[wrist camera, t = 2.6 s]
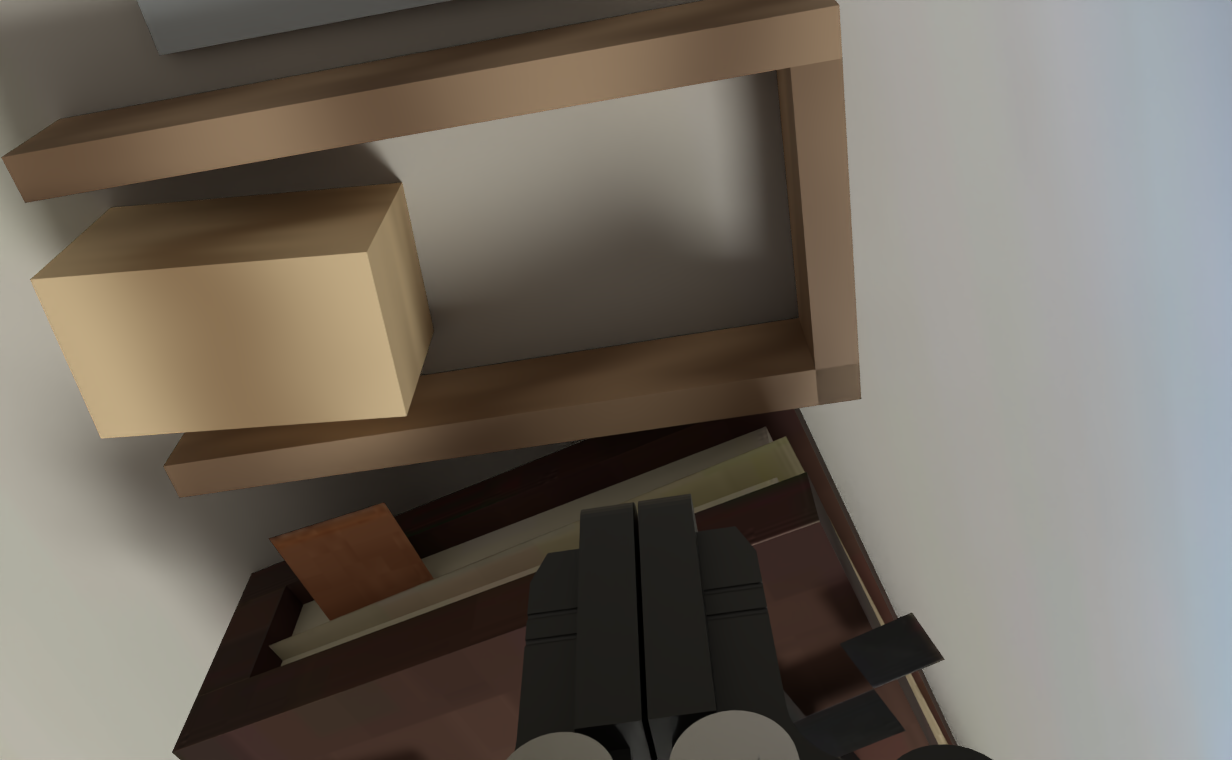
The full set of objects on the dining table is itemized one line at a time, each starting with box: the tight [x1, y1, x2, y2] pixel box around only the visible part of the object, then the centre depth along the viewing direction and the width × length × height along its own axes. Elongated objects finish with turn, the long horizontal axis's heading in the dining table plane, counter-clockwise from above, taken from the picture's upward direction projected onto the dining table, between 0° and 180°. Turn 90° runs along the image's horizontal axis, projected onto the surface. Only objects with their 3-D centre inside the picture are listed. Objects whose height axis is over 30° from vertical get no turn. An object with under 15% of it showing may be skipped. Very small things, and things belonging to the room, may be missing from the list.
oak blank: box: [30, 183, 434, 439], centre depth 23 cm, size 7×4×4 cm, turn 95°
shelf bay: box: [1, 0, 861, 498], centre depth 23 cm, size 17×9×2 cm, turn 100°
